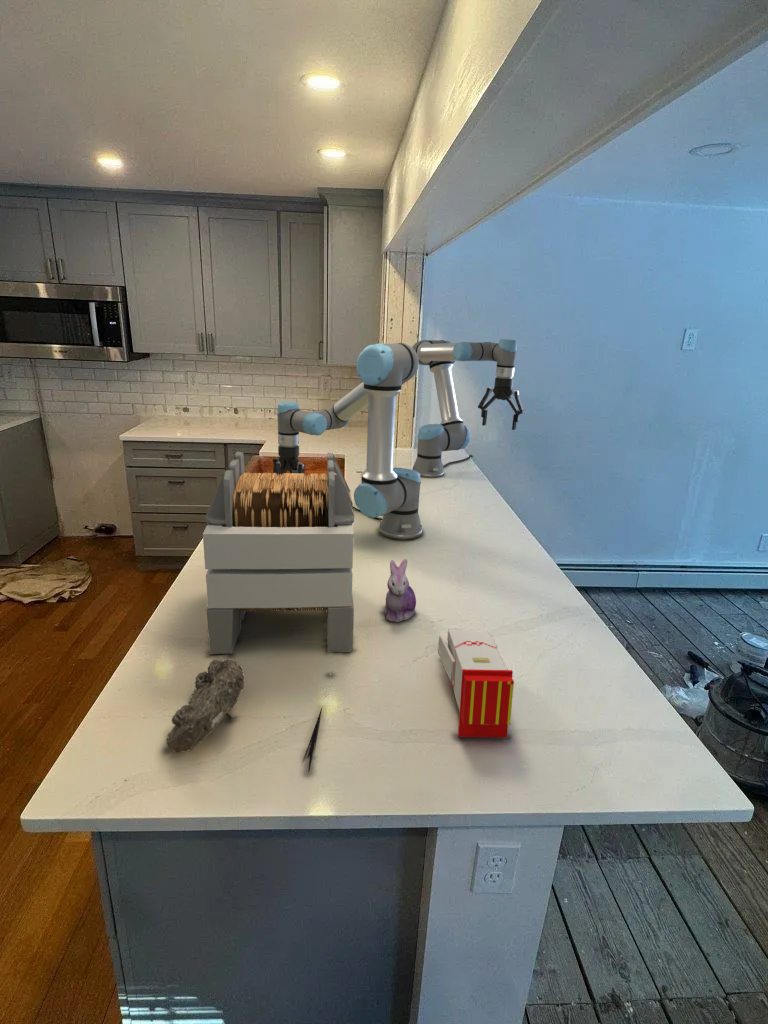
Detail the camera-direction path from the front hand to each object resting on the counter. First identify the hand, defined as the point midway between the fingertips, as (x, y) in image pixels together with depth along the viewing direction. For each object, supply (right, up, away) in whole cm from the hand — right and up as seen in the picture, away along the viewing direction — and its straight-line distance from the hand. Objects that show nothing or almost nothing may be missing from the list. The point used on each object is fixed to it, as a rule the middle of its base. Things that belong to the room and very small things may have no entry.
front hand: (289, 504), depth 214 cm
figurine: (+40, -29, -66) cm, 82 cm away
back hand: (+86, +34, +33) cm, 98 cm away
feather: (+23, -43, -105) cm, 116 cm away
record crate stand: (+11, -29, -70) cm, 76 cm away
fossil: (+3, -42, -105) cm, 113 cm away
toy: (+54, -40, -95) cm, 116 cm away
